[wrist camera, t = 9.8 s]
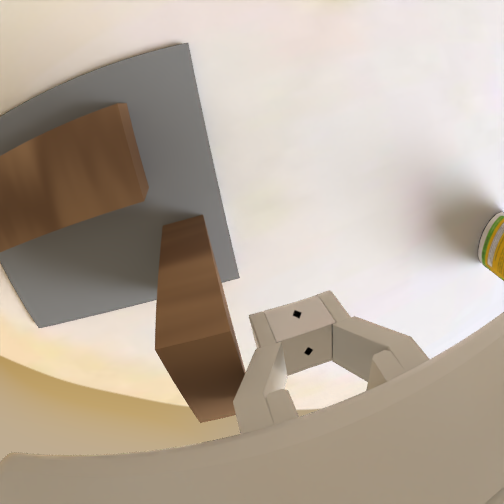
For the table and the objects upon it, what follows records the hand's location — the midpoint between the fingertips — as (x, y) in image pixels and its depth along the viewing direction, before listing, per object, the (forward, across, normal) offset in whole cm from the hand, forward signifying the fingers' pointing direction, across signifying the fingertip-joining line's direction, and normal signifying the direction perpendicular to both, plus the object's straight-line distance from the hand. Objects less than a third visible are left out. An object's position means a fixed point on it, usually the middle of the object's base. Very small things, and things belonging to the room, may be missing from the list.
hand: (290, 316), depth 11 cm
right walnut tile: (+6, +3, 0) cm, 7 cm away
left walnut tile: (+5, +4, -6) cm, 9 cm away
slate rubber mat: (+6, +8, -4) cm, 11 cm away
